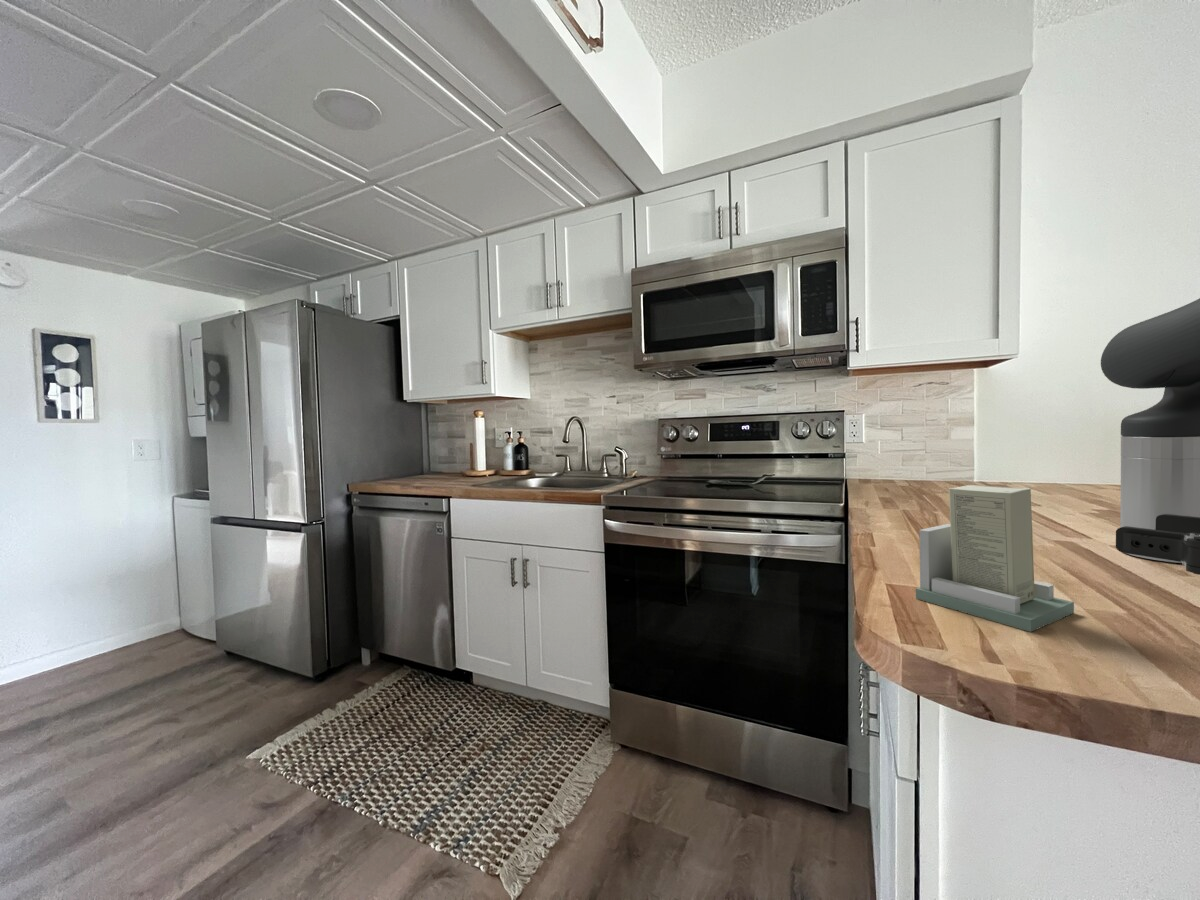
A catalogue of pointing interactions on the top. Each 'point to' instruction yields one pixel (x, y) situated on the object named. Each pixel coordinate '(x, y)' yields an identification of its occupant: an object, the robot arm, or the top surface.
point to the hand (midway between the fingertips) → (1137, 531)
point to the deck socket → (980, 589)
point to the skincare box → (993, 539)
